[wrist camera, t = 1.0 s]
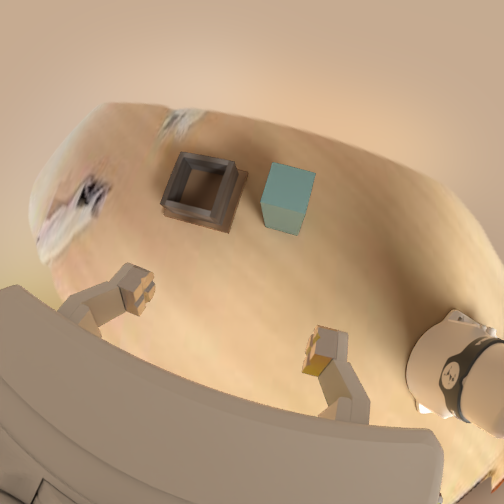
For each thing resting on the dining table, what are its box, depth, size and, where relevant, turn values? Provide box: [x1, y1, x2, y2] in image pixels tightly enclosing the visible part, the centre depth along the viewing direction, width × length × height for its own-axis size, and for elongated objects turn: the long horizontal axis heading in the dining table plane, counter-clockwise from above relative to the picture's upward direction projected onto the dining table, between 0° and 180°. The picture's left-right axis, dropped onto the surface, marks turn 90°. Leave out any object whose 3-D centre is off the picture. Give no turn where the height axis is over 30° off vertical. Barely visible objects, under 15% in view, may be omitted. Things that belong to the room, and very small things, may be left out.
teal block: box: [260, 162, 316, 236], centre depth 35 cm, size 5×5×12 cm
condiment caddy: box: [160, 152, 248, 234], centre depth 40 cm, size 11×10×6 cm
